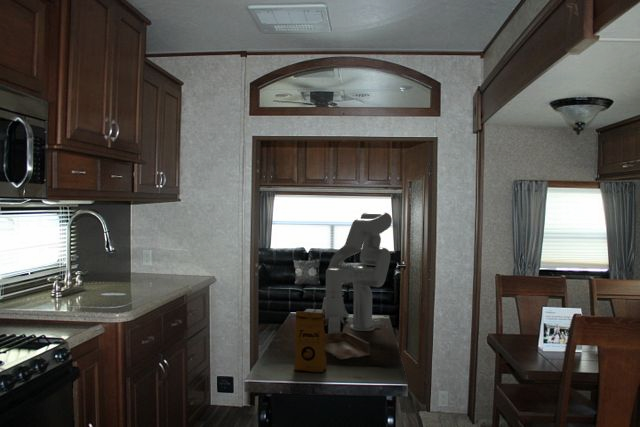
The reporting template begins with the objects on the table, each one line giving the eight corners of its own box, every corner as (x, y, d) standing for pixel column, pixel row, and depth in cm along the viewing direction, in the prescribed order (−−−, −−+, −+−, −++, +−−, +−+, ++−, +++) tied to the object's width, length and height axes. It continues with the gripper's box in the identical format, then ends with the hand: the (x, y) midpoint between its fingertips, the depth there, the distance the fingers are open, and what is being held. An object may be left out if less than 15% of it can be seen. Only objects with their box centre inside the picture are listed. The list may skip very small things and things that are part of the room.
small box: (326, 335, 228) (326, 313, 228) (338, 335, 229) (338, 313, 229) (328, 340, 220) (328, 317, 220) (340, 340, 221) (340, 317, 221)
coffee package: (323, 375, 175) (324, 315, 174) (290, 372, 178) (291, 313, 177) (329, 366, 184) (329, 309, 184) (298, 364, 187) (298, 308, 187)
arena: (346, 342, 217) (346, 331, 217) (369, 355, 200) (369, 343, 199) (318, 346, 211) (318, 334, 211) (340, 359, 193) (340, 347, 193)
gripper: (346, 292, 232) (345, 328, 232) (313, 294, 224) (313, 332, 224) (353, 294, 225) (353, 332, 225) (320, 297, 217) (320, 336, 218)
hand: (333, 332), depth 225 cm, fingers closed on small box, 7 cm apart
